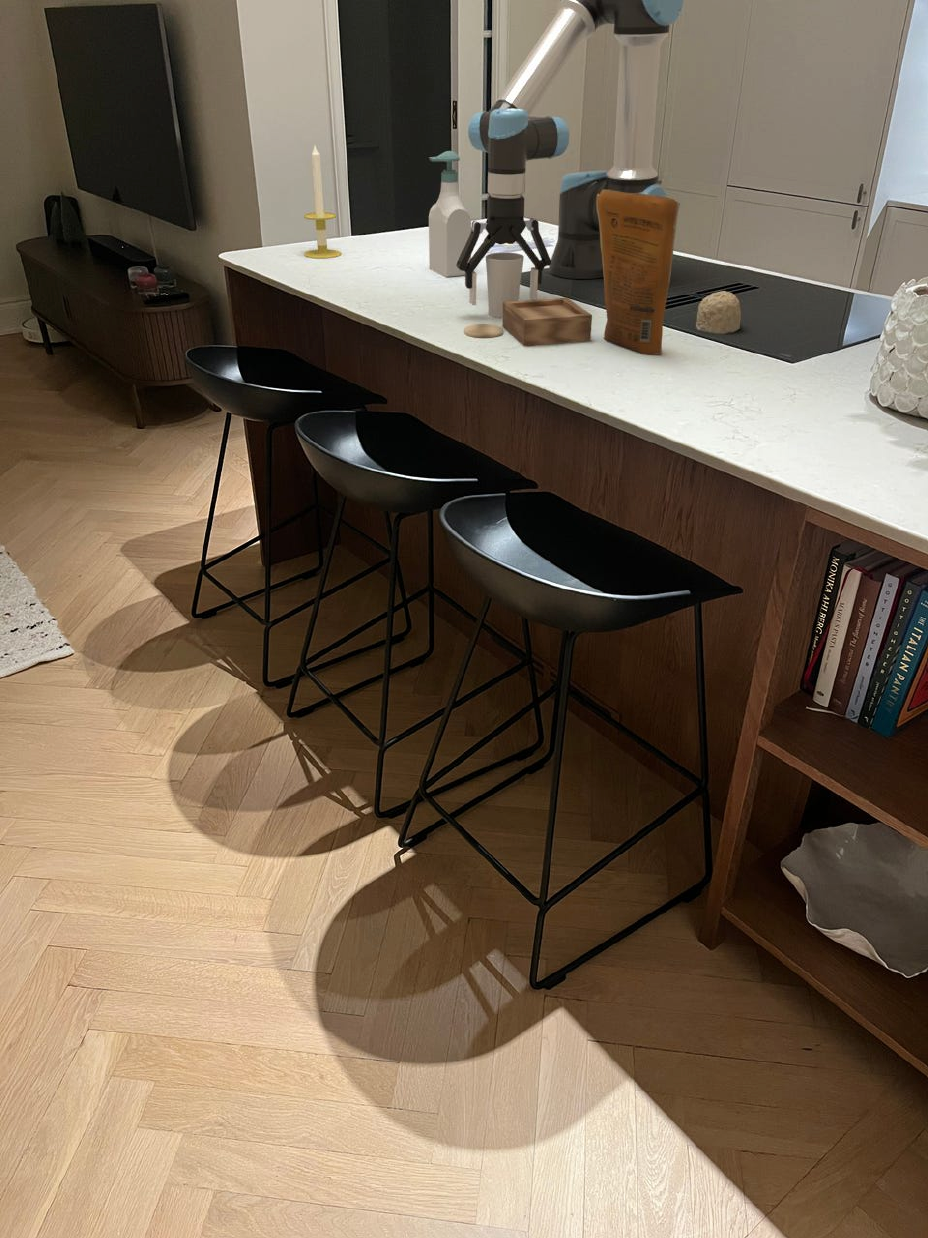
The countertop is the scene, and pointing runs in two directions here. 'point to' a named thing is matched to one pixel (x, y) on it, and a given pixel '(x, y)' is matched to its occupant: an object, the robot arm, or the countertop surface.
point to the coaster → (483, 330)
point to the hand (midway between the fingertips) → (503, 301)
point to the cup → (503, 280)
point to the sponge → (719, 313)
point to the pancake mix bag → (636, 266)
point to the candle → (320, 214)
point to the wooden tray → (546, 321)
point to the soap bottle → (448, 222)
